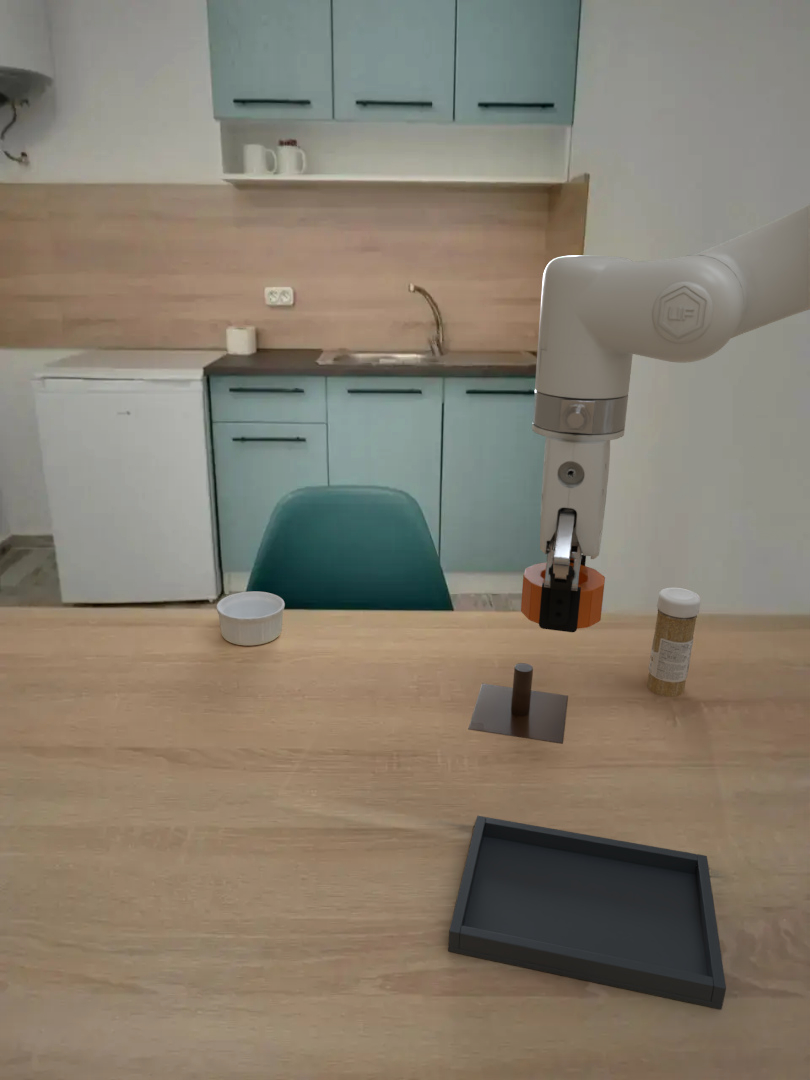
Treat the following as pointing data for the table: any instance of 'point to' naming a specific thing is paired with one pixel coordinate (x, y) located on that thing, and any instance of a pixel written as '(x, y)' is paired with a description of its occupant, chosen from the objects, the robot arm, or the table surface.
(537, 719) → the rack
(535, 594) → the orange octagonal ring
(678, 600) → the sprinkles bottle
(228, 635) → the ramekin
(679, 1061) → the table surface
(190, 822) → the table surface
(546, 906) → the tray
